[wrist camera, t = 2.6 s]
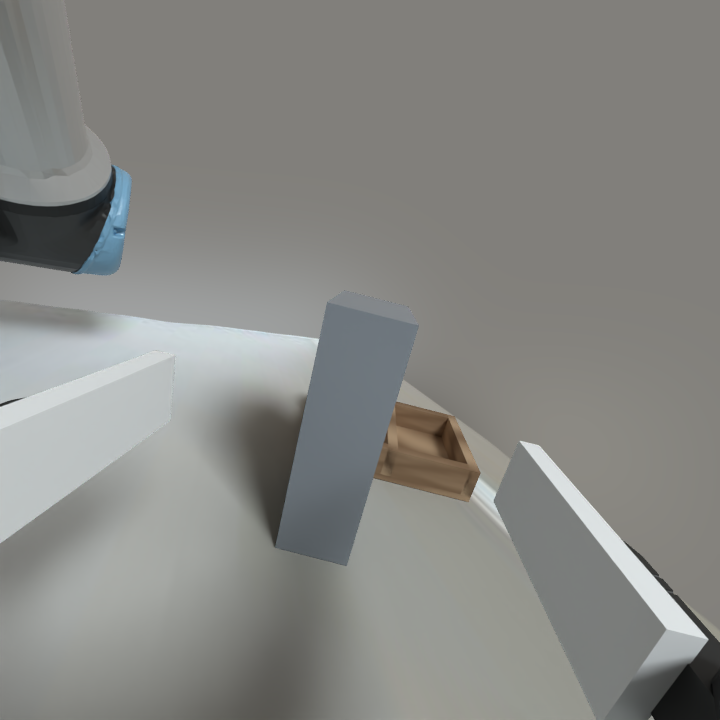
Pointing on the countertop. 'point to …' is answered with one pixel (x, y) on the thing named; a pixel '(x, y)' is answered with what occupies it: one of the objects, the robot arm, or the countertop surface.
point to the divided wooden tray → (427, 453)
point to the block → (345, 423)
